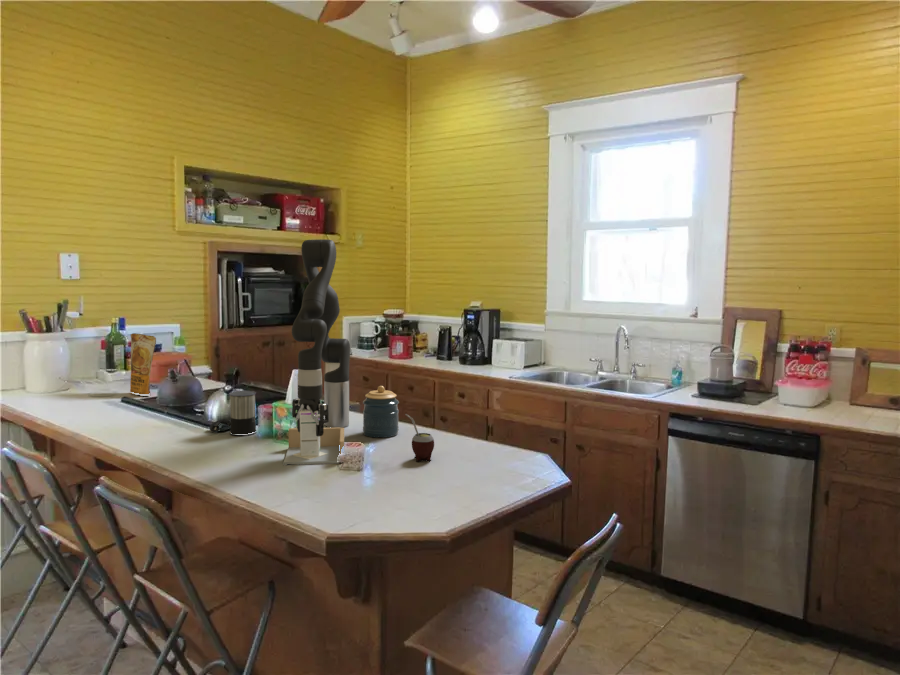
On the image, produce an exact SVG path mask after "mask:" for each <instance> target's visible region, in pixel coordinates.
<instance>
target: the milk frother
mask: <svg viewBox="0 0 900 675" xmlns="http://www.w3.org/2000/svg"><path fill="white" fill-rule="evenodd" d="M228 394H229V399H230V400H229V402H230V420H229V419H217V420H216V421H214V422H212V423H211V424H210V426H209V431H211V432H213V431H218V430H219V429H220V425H221V424H226V423H227V424H226V425H227V426H228V425H229V426H230V425H231V428H230V430H229V433H230V432H231V433H232V434H248V433H252V432H255V431H257V424H256V422H257V421H256V394H257V391H254V390H236V391H231V392H229V393H228ZM220 423H221V424H220ZM219 424H220V425H219ZM218 425H219V426H218ZM217 428H219V429H217Z"/></svg>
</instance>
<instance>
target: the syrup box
mask: <svg viewBox="0 0 900 675" xmlns="http://www.w3.org/2000/svg"><path fill="white" fill-rule="evenodd" d="M314 413H315V415H317V414H318V410H317V411H315V412H314ZM318 419H319V418H318ZM319 420H320V419H319ZM316 425H317V424H316V422H315V420H314V419H313V418H312V416H311V412H310V411H309V410H307V409H304V410H300V450H301V456H319V454H320V436H319V437H318V436H316Z"/></svg>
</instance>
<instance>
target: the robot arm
mask: <svg viewBox="0 0 900 675" xmlns="http://www.w3.org/2000/svg"><path fill="white" fill-rule="evenodd" d="M300 249H301V258H302V262H303V266H304V270H305V274H306V277H307V281H308V284H307V286H306V287H305V289H304V291H303V296H302V302H301V308H300V310H299V312H298V314H297V316H296V318H295V319H294V322H293V324H292V327H291V336H292V338H293V339H294V340H295V341H297V342H302V343H303V342H304V343H314V344H313V346H312V347H311V348H305V349H301V350H300V351H298V354H297V363H298V364H297V365H298V366H297V367H298V368H297V398H293V399H292V402H291V403H292V406H291V408H292V410H291V417H292V418H294V419H295V420H296V425H297V426H296V428H297V429H298V432H300V410H304V409H307V410H309V411H310V412H311V416H312V418H313V419H314V420H315V422H316V424H317V425H316V436H318V437H319V436H322V435H323V433H324V430H323V429H324V428H325V427H326V426H327V427H326V428H330V427H331V428H336V427H344V428H346V427H349V425H350V359H351V344H350V341H349V340H348V339H347V338H335V337H334V338H331V337H330V335H329V333H330V331H331V329H332V327H333V326H334V324H335V322H336V321H337V320H338V317H339V315H340V310H341V308H340V304H339V301H340V300H339V296H338V294H337V292H336V290H335V289H334V288H333V287H332V286H331V285H330V281H331V279H332V275H333V272H334V268H335V265H336V261H337V247H336V244H335V241H334V240H332V239H306V240H304V241H303V242H302V244H301V248H300ZM318 268H321V269H320V270H319V269H318ZM322 362H323V363H327V364H329V363H330V364H331V363H332V364H339V366H338V367H337V368H336V369H333V370H330V371H327V372H325V373H324V376H323V373H322V372H323V371H322ZM323 377H324V385H323ZM323 386H324V387H323ZM323 388H324V394H323ZM323 396H324V397H323ZM322 398H324V401H323V402H324V403H321V399H322ZM317 410H318V414H317V415H315V413H314V412H315V411H317ZM318 418H319V419H320V420H319V419H318ZM324 426H325V427H324Z"/></svg>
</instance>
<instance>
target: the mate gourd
mask: <svg viewBox="0 0 900 675" xmlns="http://www.w3.org/2000/svg"><path fill="white" fill-rule="evenodd" d="M404 415H405V416H406V417H408V418H409V419H410V420H411V423H412V424H413V427H414V431H415V433H416V434H414V435H413V437H412V439H411V449H412V451H413V454H414V459H415V458H416V460H415V462H416V463H420V462H423V461H424V460H425V462H428V461H431V462H432V459H431V458H432V454H433V451H434V449H435V440H434V437H433V436H432V434H431V433H428V432H418V428H417V425H416V422H415V420H414V418H413V417H412V416H410V415H409V414H407V413H405V414H404ZM422 460H423V461H422ZM419 461H420V462H419Z"/></svg>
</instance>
